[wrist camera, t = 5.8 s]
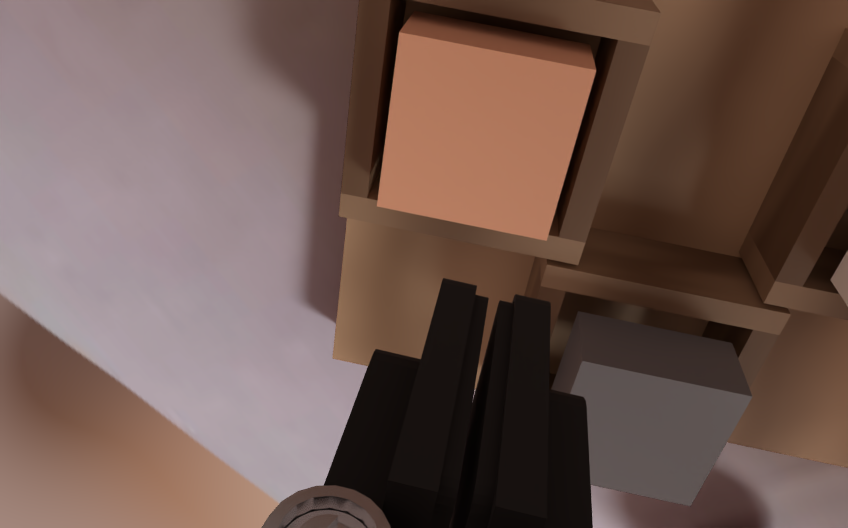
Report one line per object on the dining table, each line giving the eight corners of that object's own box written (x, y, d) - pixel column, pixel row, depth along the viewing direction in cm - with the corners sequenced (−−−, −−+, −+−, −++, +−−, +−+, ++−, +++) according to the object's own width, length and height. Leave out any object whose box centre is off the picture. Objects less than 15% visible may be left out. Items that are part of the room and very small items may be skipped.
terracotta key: (590, 44, 18) (596, 70, 16) (545, 201, 21) (546, 240, 19) (414, 10, 18) (399, 32, 16) (392, 170, 21) (376, 206, 19)
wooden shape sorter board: (1108, 19, 20) (1263, 69, 15) (829, 430, 29) (879, 532, 25) (393, -113, 20) (356, -100, 16) (344, 328, 30) (312, 410, 25)
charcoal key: (732, 342, 21) (752, 396, 19) (677, 449, 24) (690, 506, 22) (577, 311, 21) (582, 360, 19) (540, 419, 24) (541, 474, 22)
